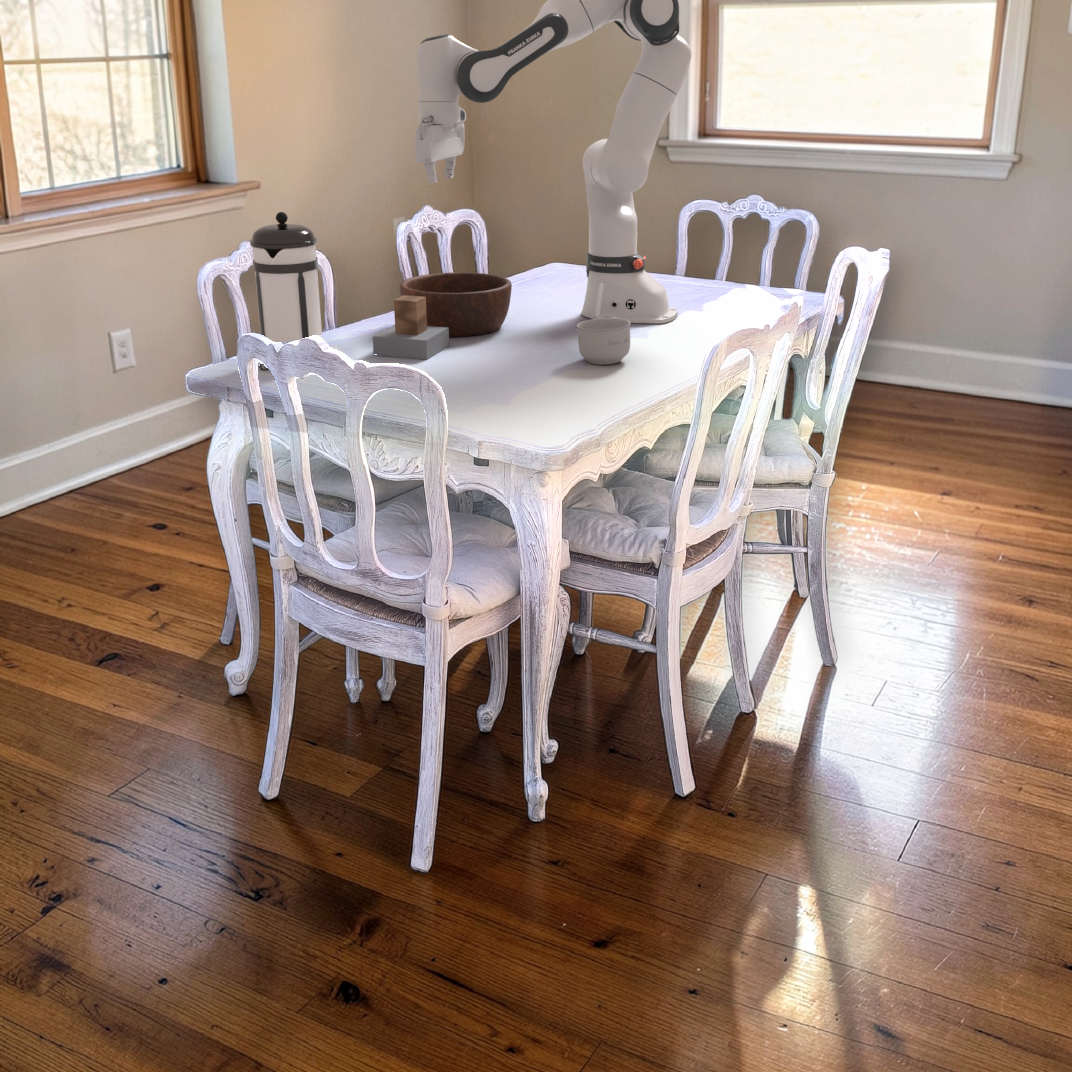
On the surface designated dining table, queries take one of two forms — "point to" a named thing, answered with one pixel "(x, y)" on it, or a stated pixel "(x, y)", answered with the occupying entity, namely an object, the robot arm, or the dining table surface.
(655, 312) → the robot arm
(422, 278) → the wooden bowl
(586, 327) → the teacup
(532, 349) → the dining table surface
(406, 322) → the walnut block
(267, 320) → the coffee press
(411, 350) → the block
